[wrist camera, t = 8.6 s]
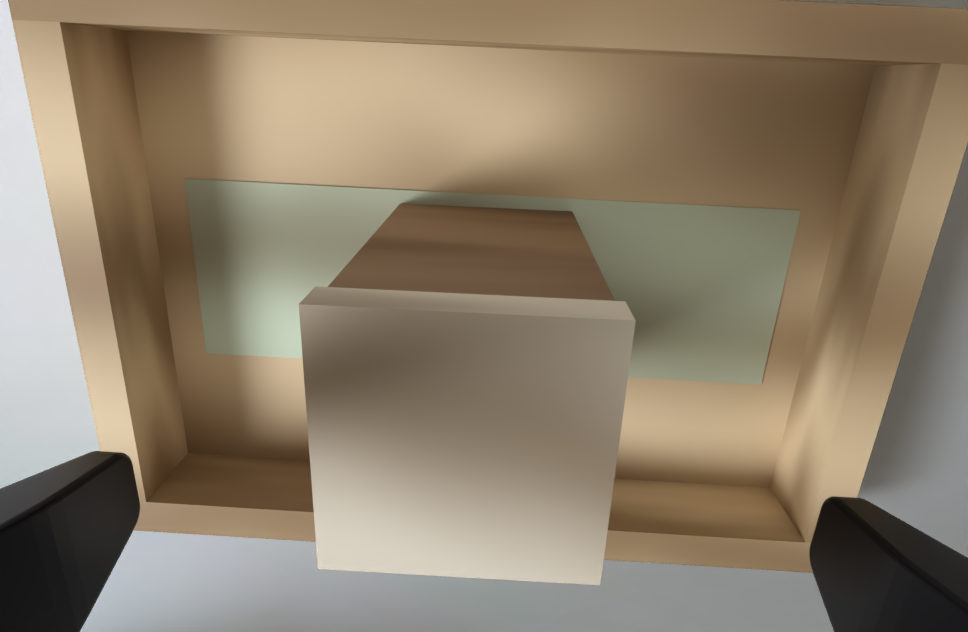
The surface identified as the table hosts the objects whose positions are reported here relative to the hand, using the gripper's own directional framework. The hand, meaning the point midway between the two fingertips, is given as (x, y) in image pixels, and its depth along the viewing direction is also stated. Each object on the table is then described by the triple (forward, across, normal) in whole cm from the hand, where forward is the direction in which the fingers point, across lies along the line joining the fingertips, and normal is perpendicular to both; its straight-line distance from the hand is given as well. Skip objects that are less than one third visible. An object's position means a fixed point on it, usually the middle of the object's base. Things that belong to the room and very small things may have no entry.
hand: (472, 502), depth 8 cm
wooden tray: (+10, 0, 0) cm, 10 cm away
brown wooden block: (+10, 0, 0) cm, 10 cm away
